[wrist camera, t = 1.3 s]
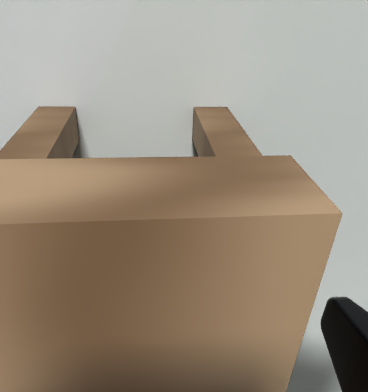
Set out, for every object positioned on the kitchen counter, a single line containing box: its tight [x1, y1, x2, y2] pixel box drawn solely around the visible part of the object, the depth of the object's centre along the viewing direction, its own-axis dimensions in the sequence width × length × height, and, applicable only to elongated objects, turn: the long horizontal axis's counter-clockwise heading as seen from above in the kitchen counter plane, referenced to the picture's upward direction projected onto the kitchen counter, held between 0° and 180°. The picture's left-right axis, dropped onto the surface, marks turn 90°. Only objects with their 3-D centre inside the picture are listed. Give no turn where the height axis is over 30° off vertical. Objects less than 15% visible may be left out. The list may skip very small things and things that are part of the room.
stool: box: [0, 107, 342, 392], centre depth 9 cm, size 6×8×6 cm
